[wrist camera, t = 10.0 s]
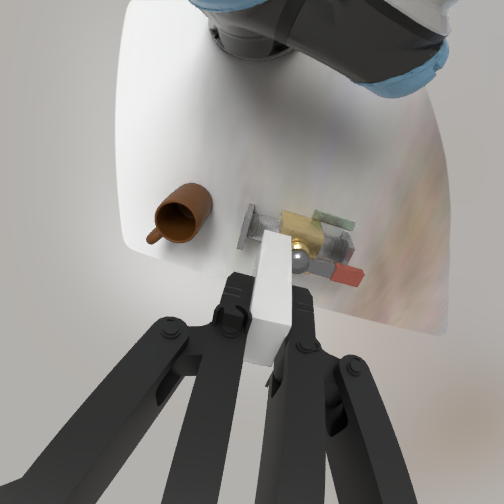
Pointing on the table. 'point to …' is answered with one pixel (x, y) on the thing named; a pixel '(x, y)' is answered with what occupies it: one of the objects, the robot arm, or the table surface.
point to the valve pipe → (302, 233)
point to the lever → (325, 268)
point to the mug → (181, 214)
